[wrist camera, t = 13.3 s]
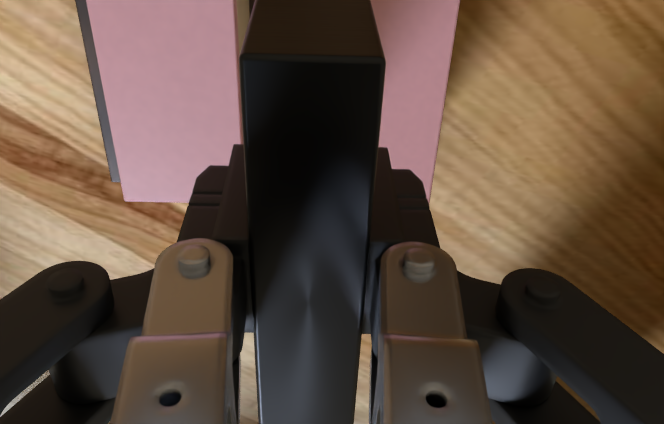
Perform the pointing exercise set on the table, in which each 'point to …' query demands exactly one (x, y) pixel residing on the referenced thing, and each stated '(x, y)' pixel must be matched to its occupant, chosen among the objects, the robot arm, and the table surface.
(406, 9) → the slice
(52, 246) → the table surface
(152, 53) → the cake
